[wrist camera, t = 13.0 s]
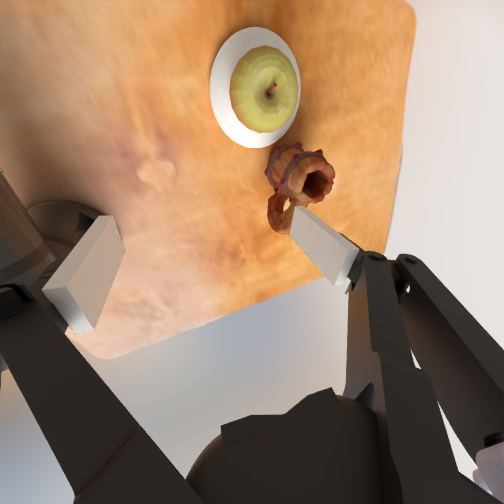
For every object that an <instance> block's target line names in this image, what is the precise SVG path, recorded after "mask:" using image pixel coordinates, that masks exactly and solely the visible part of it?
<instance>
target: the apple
mask: <svg viewBox="0 0 504 504" xmlns="http://www.w3.org/2000/svg"><path fill="white" fill-rule="evenodd" d="M229 95H230V100H231V106H232V109H233V111H234V113H235V115H236V117H237V119H238V120H239V121H240V122H241V123H242V124H243V125H244V126H245V127H246V128H248V129H249V130H252V131H255V132H257V133H269V132H274V131H276V130H277V129H279V128H281V127H283V126H284V125H285V123H286V122H287V121H288V120H289V119H290V117H291V116H292V113H293V111H294V108H295V106H296V104H297V95H298V83H297V77H296V72H295V70H294V68H293V66H292V64H291V62H290V60H289V58H288V57H287V56H285V55H284V54H283V53H282V52H281V51H280V50H279V49H277V48H274V47H270V46H266V45H264V46H260V47H256V48H253V49H251V50H249V51H248V52H247V53H246V54H245V55H244V56H243V57H242V58H240V59H239V60H238V62H237V65H236V67H235V69H234V71H233V73H232V75H231V80H230V89H229Z"/></svg>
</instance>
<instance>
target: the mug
mask: <svg viewBox="0 0 504 504" xmlns="http://www.w3.org/2000/svg"><path fill="white" fill-rule="evenodd" d="M265 175H266V176H267V178H268V180H269V182H270V184H271V185H272V186H273V187H274V188H275V189H274V190H275V192H276V193H275V194H274V195H273V196H271V197H270V198H269V199H268V213H267V216H268V221H269V224H270V226H271V228H272V229H273V230H274V231H275V232H278V233H280V234H284V235H289V234H290V229H291V224H292V219H293V214H294V209H295V206H304V207H305V208H307V206H308V204H309V203H311V202H312V203H314V204H315V203H318V202H320V201H322V200H323V199H324V197H325V195H327V194H329V193H330V191H331V190H332V185H333V184H334V182H333V179H334V178H335V171H334V169H333V166H332V165H330V164H329V163H328V162H327V161H326V159H325V158H324V156H323V151H322V150H321V149H319V150H317V151H315V152H311V151H306V152H304V150H303V149H302V144H301V143H299V142H298V143H296V144H295V145H284V146H282V147H280V146H277V147H276V148H275V151H274V153H273V154H272V156H271V157H270V159H269V162H268V165H267V169H266V170H265ZM288 198H289V201H290V203H291V204H290V206H289V208H288V209H287V210H285V211H284V212H283V207H284V204H285V201H286V200H287V199H288Z"/></svg>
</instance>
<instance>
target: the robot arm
mask: <svg viewBox="0 0 504 504" xmlns="http://www.w3.org/2000/svg"><path fill="white" fill-rule="evenodd" d="M2 172H3V170H2V169H1V168H0V387H1V372H2V371H5V370H7V369H9V370H10V372H11V373H12V375H13V377H14V379H15V381H16V383H17V385H18V387H19V388H20V390H21V392H22V394H23V396H24V398H25V400H26V402H27V404H28V406H29V407H30V409H31V411H32V413H33V415H34V417H35V419H36V420H37V422H38V424H39V426H40V428H41V430H42V432H43V434H44V436H45V438H46V440H47V441H48V443H49V445H50V447H51V449H52V451H53V452H54V454H55V456H56V458H57V460H58V462H59V464H60V466H61V468H62V470H63V472H64V474H65V475H66V477H67V479H68V481H69V483H70V485H71V487H72V489H73V491H74V495H75V499H74V502H73V504H504V350H503V349H502V348H501V347H500V345H499V344H498V343H497V342H496V341H495V340H494V339H493V338H492V337H491V336H490V335H489V333H488V332H487V331H486V330H485V329H484V328H483V327H482V326H481V325H480V324H479V323H478V322H477V320H476V319H475V318H474V317H473V316H472V315H471V314H470V313H469V312H468V311H467V310H466V308H465V307H464V306H463V305H462V304H461V303H460V302H459V301H458V300H457V299H456V298H455V296H454V295H453V294H452V293H451V292H450V291H449V290H448V289H447V288H446V287H445V286H444V285H443V283H442V282H441V281H440V280H439V279H438V278H437V277H436V276H435V275H434V274H433V273H432V271H431V270H430V269H429V268H428V267H427V266H426V265H425V264H424V263H423V262H422V261H421V260H420V259H418V258H417V257H415V256H412V255H410V254H409V255H408V254H399V256H398V257H397V259H396V260H388V259H387V258H386V257H385V256H384V255H382V254H380V253H377V252H374V251H364V250H363V249H362V248H360V247H359V246H358V245H356V244H355V243H354V242H352V241H351V240H350V239H348V238H347V237H346V236H344V235H343V234H341V233H339V232H337V231H335V230H334V229H333V228H332V227H330V226H329V225H328V224H326V223H325V222H324V221H322V220H321V219H320V218H318V217H317V216H316V215H315V214H313V213H312V212H311V211H309V210H308V209H307V208H305V207H304V206H295V209H294V214H293V219H292V224H291V229H290V234H289V236H290V237H291V238H292V239H293V240H294V241H295V242H296V244H297V245H298V246H299V247H300V248H301V249H302V250H303V251H304V253H305V254H306V255H307V256H308V257H309V258H310V259H311V261H312V262H313V263H314V264H315V265H316V266H317V267H318V268H319V270H320V271H321V272H322V273H323V274H324V275H325V276H326V278H328V280H329V281H330V282H331V283H332V284H333V285H334V286H337V285H342V284H344V283H345V281H346V278H347V277H348V278H349V279H350V280H351V282H350V284H349V287H348V288H347V290H346V292H345V294H347V293H348V292H349V302H348V333H347V334H348V336H347V365H346V366H347V367H346V385H345V390H344V393H343V396H340V395H336V394H335V393H334V391H333V389H332V387H331V388H328V389H324V390H322V391H319V392H316V393H313V394H310V395H308V396H306V397H305V398H304V399H303V400H301V401H300V402H299V403H298V404H296V405H295V406H294V407H293V408H292V409H290V410H289V411H288V412H287V413H285V414H282V415H250V416H247V417H245V418H241V419H239V420H236V421H233V422H230V423H227V424H224V425H221V434H220V435H219V436H217V437H216V438H215V439H214V440H213V441H211V442H210V444H208V446H207V447H206V448H205V449H204V450H203V451H202V453H201V454H200V455H199V457H198V458H197V460H196V461H195V463H194V464H193V466H192V468H191V470H190V472H189V473H188V475H187V477H186V480H185V479H184V477H183V476H182V475H181V474H180V473H179V471H178V470H177V469H176V468H175V467H174V465H173V464H172V463H171V462H170V461H169V459H168V458H167V457H166V456H165V454H164V453H163V452H162V451H161V450H160V448H159V447H158V446H157V445H156V444H155V442H154V441H153V440H152V439H151V438H150V436H149V435H148V434H147V433H146V432H145V430H144V429H143V428H142V427H141V426H140V425H139V424H138V422H137V421H136V420H135V419H134V418H133V416H132V415H131V414H130V413H129V412H128V410H127V409H126V408H125V407H124V405H123V404H122V403H121V402H120V401H119V400H118V398H117V397H116V396H115V395H114V393H113V392H112V391H111V390H110V388H109V387H108V386H107V385H106V384H105V383H104V381H103V380H102V379H101V378H100V376H99V375H98V374H97V373H96V372H95V370H94V369H93V368H92V367H91V365H90V364H89V363H88V362H87V361H86V359H85V358H84V357H83V356H82V355H81V354H80V352H79V351H78V350H77V349H76V348H75V346H74V345H73V344H72V343H71V342H70V340H69V339H68V338H67V336H66V335H65V334H64V333H65V331H66V329H67V327H68V326H69V328H70V329H71V330H72V332H73V333H74V334H76V333H81V332H86V331H92V330H94V329H95V327H96V324H97V321H98V319H99V316H100V314H101V311H102V309H103V306H104V304H105V301H106V298H107V296H108V293H109V291H110V288H111V286H112V283H113V281H114V278H115V276H116V273H117V270H118V268H119V265H120V263H121V260H122V258H123V255H124V253H125V248H124V246H123V243H122V240H121V237H120V234H119V232H118V229H117V226H116V223H115V220H114V217H113V215H107V216H104V215H102V214H101V213H99V212H98V211H96V210H94V209H92V208H90V207H88V206H85V205H83V204H80V203H76V202H71V201H64V200H52V201H46V202H42V203H39V204H36V205H34V206H33V207H31V208H29V209H28V210H26V209H25V207H24V206H23V204H22V203H21V201H20V200H19V198H18V197H17V195H16V194H15V192H14V191H13V189H12V188H11V186H10V184H9V183H8V181H7V180H6V178H5V177H4V175H3V174H2ZM409 285H410V291H409V293H408V292H407V291H406V289H407V288H408V286H409ZM410 348H411V349H410ZM411 350H412V352H413V354H414V356H415V358H416V360H417V362H418V364H419V366H420V367H421V369H419V368H416V367H415V364H414V361H413V357H412V354H411ZM437 401H438V402H439V405H440V406H441V408H442V410H443V412H444V414H445V416H446V418H447V420H448V421H449V423H450V425H451V427H452V429H453V430H454V432H455V434H456V435H457V437H458V438H459V440H460V442H461V443H462V445H463V446H464V448H465V449H466V451H467V452H468V454H469V455H470V457H471V458H472V459H473V461H474V462H475V463H476V465H477V467H478V469H476V470H475V471H473V479H474V481H475V483H474V482H473V481H471V480H470V479H469V478H467V477H466V476H464V475H463V474H461V473H460V472H459V471H458V468H457V465H456V461H455V458H454V455H453V452H452V448H451V445H450V442H449V438H448V435H447V431H446V428H445V425H444V422H443V418H442V415H441V412H440V408H439V405H438V402H437Z"/></svg>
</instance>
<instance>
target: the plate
mask: <svg viewBox="0 0 504 504" xmlns="http://www.w3.org/2000/svg"><path fill="white" fill-rule="evenodd" d="M264 45H266V46H270V47H274V48H277V49H279V50H280V51H281V52H282V53H283V54H284V55H285V56H287V57H288V58H289V60H290V62H291V64H292V66H293V68H294V70H295V72H296V77H297V83H298V95H297V104H296V106H295V108H294V111H293V113H292V116H291V117H290V119H289V120H288V121H287V122H286V123H285V125H284V126H283V127H281V128H279V129H277V130H276V131H274V132H269V133H257V132H255V131H252V130H249V129H248V128H246V127H245V126H244V125H243V124H242V123H241V122H240V121H239V120H238V119H237V117H236V115H235V113H234V111H233V109H232V106H231V100H230V95H229V89H230V80H231V75H232V73H233V71H234V69H235V67H236V65H237V62H238V60H239V59H240V58H242V57H243V56H244V55H245V54H246V53H247V52H248V51H249V50H251V49H253V48H256V47H260V46H264ZM209 89H210V100H211V105H212V109H213V112H214V115H215V118H216V120H217V122H218V124H219V125H220V127H221V128H222V130H223V131H224V132H225V133H226V135H227V136H228V137H230V138H231V139H232V140H233V141H235V142H236V143H238V144H240V145H242V146H245V147H249V148H262V147H266V146H269V145H271V144H273V143H274V142H276V141H277V140H279V139H280V138H281V137H282V136H283V135H284V134H285V133H286V132H287V130H288V129H289V127H290V126H291V124H292V122H293V120H294V118H295V116H296V113H297V110H298V106H299V101H300V92H301V83H300V74H299V69H298V65H297V62H296V60H295V57H294V55H293V53H292V51H291V49H290V48H289V46H288V45H287V44H286V43H285V41H284V40H283V39H282V38H281V37H280V36H278V35H277V34H276V33H274V32H272V31H271V30H268V29H265V28H261V27H249V28H245V29H242V30H240V31H238V32H236V33H235V34H233V35H232V36H231V37H230V38H229V39H228V40H227V41H226V42H225V43H224V44H223V46H222V47H221V48H220V50H219V52H218V54H217V56H216V58H215V61H214V63H213V67H212V70H211V76H210V88H209Z"/></svg>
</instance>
